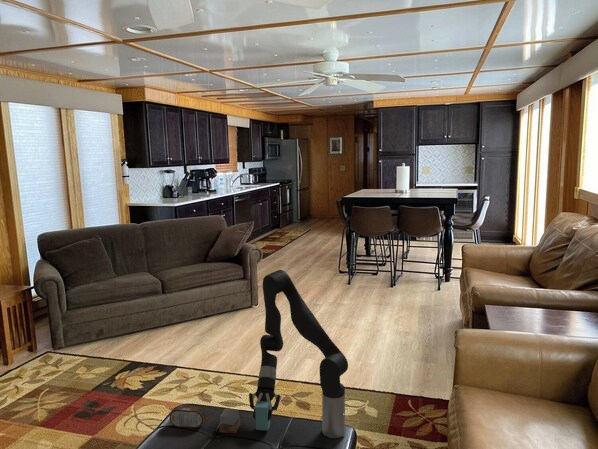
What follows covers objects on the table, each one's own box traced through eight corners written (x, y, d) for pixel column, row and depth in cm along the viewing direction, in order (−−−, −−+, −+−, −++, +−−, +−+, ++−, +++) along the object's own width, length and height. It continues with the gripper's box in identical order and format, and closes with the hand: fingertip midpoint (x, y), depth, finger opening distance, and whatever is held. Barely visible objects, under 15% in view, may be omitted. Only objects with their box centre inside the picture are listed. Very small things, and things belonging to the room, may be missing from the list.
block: (270, 423, 193) (269, 401, 192) (267, 430, 188) (267, 407, 187) (258, 423, 194) (257, 400, 192) (256, 429, 189) (255, 407, 188)
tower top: (238, 417, 195) (238, 409, 195) (234, 425, 189) (233, 417, 189) (225, 416, 196) (225, 408, 196) (220, 423, 191) (220, 415, 190)
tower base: (240, 424, 196) (240, 416, 196) (236, 433, 189) (235, 425, 189) (224, 423, 197) (224, 415, 197) (219, 432, 190) (219, 424, 190)
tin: (205, 425, 195) (205, 406, 194) (203, 429, 192) (202, 410, 191) (171, 423, 197) (170, 405, 196) (169, 427, 194) (168, 409, 193)
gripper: (249, 375, 197) (243, 416, 187) (282, 376, 195) (277, 418, 185) (252, 381, 203) (246, 421, 193) (284, 382, 201) (280, 423, 191)
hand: (262, 419), depth 189 cm, fingers closed on block, 5 cm apart
